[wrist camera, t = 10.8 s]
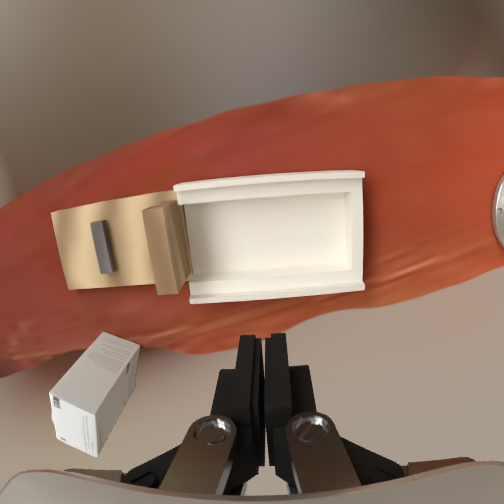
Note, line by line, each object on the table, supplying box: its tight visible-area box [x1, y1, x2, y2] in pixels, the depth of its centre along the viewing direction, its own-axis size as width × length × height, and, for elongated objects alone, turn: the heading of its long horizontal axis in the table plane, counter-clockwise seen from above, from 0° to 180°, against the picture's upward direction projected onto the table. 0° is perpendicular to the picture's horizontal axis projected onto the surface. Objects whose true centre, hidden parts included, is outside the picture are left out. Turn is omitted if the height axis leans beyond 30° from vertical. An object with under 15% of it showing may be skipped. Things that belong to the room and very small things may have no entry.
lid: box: [51, 190, 193, 295], centre depth 32 cm, size 17×10×8 cm, turn 96°
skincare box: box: [49, 332, 140, 458], centre depth 32 cm, size 8×6×15 cm
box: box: [173, 170, 365, 304], centre depth 32 cm, size 18×12×4 cm, turn 95°
